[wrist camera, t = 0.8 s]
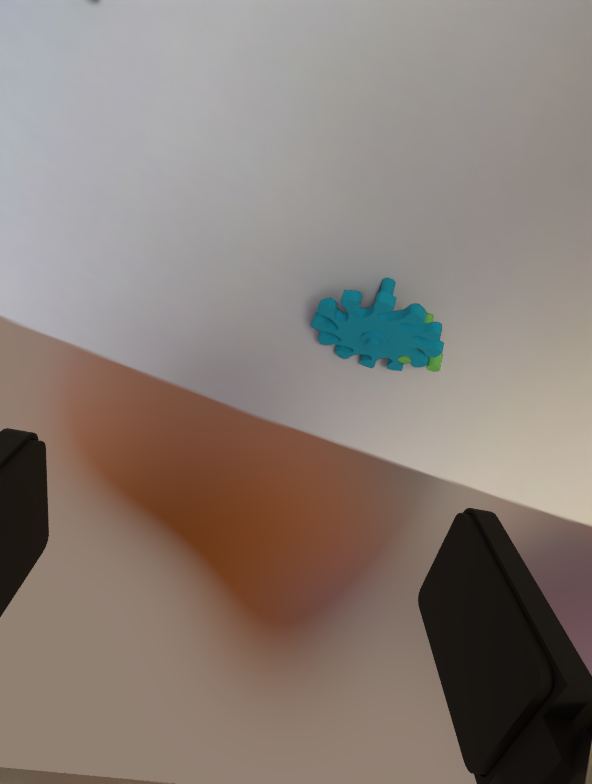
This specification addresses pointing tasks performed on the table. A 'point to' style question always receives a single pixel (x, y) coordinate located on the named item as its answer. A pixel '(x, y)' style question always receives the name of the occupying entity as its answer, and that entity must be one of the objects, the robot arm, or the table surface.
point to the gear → (380, 330)
